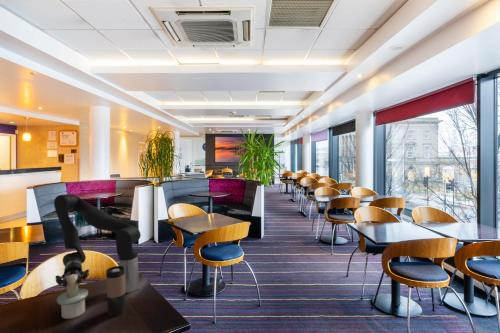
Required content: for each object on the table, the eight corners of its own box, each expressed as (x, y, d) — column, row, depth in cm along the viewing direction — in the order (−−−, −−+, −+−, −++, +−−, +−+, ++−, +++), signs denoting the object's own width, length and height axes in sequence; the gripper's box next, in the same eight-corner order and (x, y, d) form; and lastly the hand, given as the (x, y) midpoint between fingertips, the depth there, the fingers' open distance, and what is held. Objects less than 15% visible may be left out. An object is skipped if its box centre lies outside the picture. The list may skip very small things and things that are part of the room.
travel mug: (129, 307, 129) (127, 266, 128) (120, 317, 122) (118, 273, 121) (114, 306, 130) (112, 265, 129) (103, 316, 122) (102, 272, 121)
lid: (88, 288, 133) (87, 268, 133) (88, 299, 123) (87, 278, 122) (58, 295, 127) (57, 274, 127) (55, 307, 117) (54, 284, 116)
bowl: (85, 305, 132) (84, 292, 131) (85, 314, 124) (84, 301, 124) (62, 310, 127) (61, 298, 127) (61, 320, 119) (60, 307, 119)
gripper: (55, 265, 133) (52, 279, 118) (89, 259, 140) (90, 271, 126) (56, 280, 133) (52, 296, 119) (90, 273, 141) (90, 287, 126)
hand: (72, 283), depth 122 cm, fingers closed on lid, 4 cm apart
